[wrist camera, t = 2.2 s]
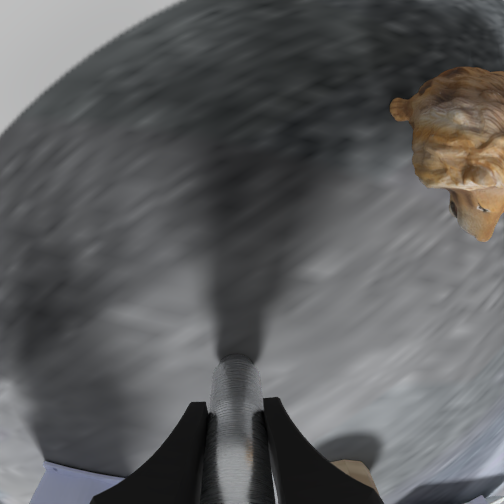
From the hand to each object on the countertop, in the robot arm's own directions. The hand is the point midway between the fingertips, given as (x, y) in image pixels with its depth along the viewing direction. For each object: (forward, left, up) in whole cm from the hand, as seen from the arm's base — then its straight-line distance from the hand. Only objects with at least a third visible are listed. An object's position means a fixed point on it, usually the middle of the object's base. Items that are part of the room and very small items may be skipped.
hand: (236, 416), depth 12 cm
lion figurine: (+13, +12, -4) cm, 18 cm away
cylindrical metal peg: (0, 0, -4) cm, 4 cm away
